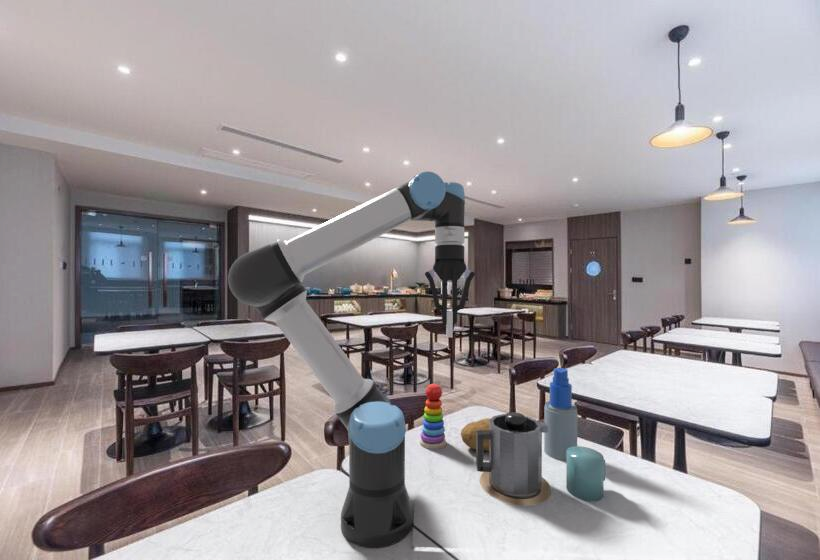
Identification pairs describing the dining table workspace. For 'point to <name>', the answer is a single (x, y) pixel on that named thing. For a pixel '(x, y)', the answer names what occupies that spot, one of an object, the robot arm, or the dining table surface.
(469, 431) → the potato
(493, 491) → the trivet
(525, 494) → the carafe
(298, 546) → the dining table surface
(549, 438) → the spray bottle
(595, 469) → the mug
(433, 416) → the stacking toy
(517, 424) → the plunger
